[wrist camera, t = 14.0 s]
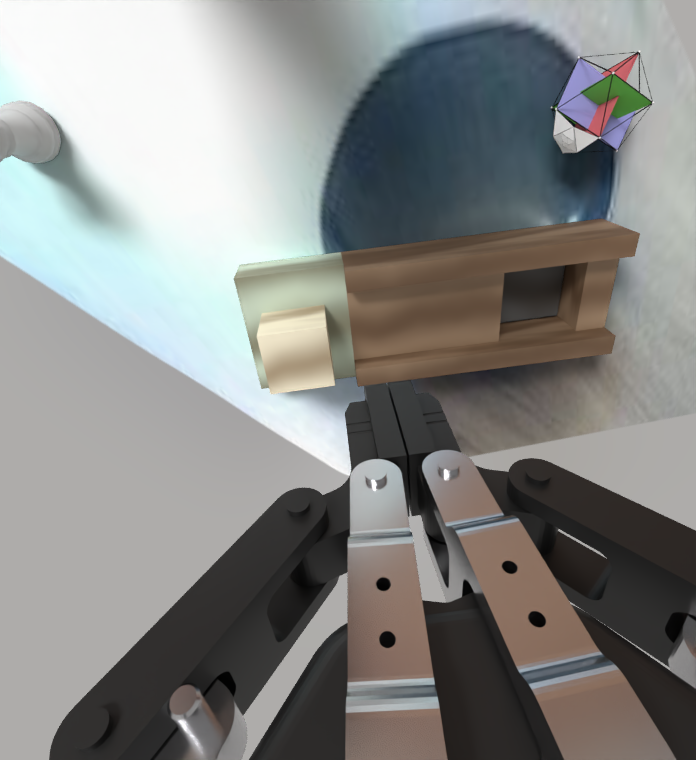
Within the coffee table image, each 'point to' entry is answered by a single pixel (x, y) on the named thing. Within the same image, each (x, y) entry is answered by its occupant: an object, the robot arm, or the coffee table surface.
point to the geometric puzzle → (597, 106)
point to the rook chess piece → (27, 133)
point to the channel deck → (450, 300)
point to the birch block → (296, 349)
